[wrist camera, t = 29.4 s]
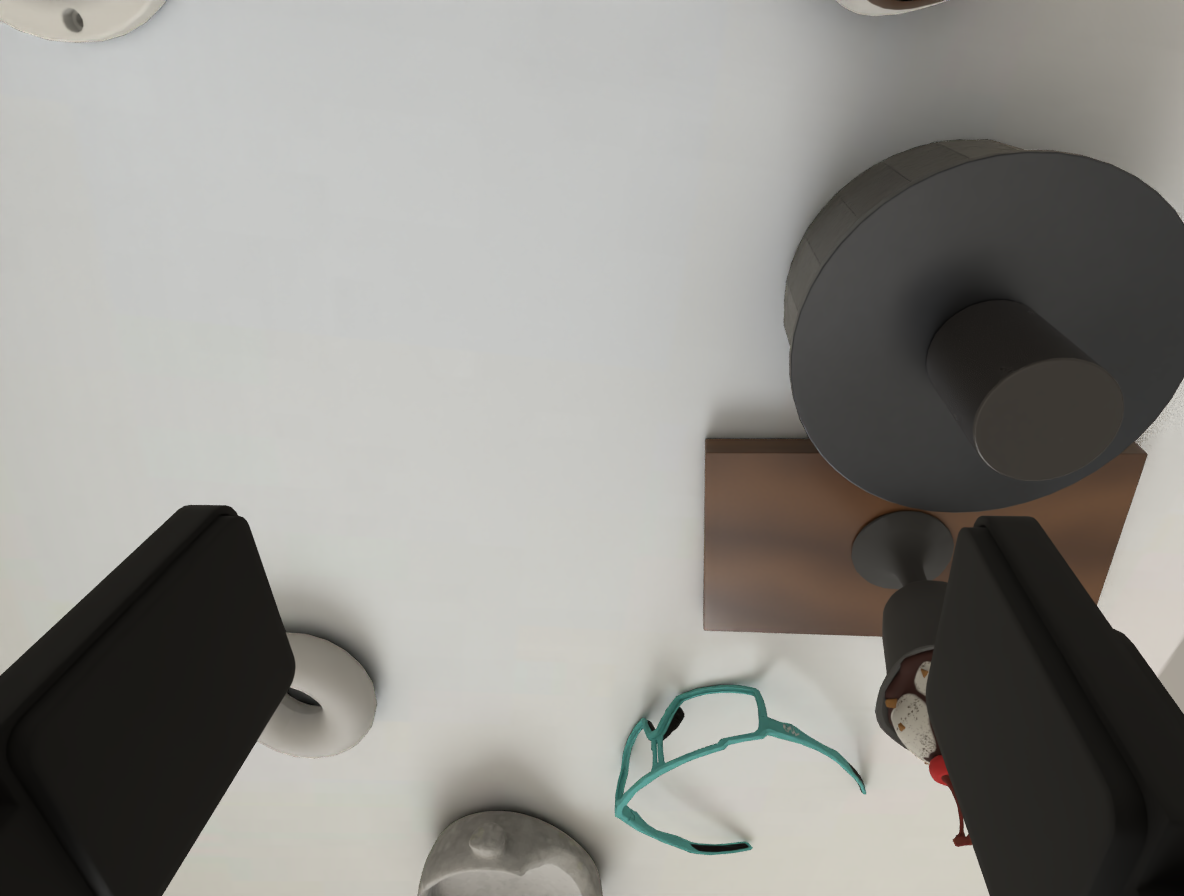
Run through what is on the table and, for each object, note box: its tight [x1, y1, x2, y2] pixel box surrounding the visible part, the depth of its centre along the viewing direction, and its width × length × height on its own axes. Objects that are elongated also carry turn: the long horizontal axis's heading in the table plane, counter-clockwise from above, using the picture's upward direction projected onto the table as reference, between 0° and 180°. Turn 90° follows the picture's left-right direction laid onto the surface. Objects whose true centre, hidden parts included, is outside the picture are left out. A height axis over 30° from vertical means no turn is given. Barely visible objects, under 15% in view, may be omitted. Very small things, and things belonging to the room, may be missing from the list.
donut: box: [257, 632, 377, 759], centre depth 49 cm, size 10×4×10 cm
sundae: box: [851, 511, 972, 847], centre depth 32 cm, size 7×7×15 cm
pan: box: [784, 139, 1024, 345], centre depth 31 cm, size 13×13×6 cm
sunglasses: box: [615, 685, 866, 855], centre depth 48 cm, size 14×15×5 cm
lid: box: [789, 150, 1184, 513], centre depth 26 cm, size 14×14×7 cm
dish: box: [418, 811, 603, 896], centre depth 56 cm, size 14×14×5 cm
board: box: [703, 439, 1147, 637], centre depth 39 cm, size 12×20×2 cm, turn 94°
